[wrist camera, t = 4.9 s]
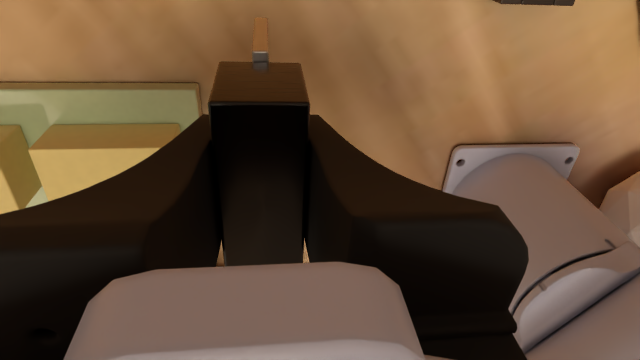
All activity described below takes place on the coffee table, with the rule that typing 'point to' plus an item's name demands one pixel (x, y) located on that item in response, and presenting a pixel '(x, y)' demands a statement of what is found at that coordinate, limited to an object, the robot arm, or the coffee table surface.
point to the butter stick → (93, 153)
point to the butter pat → (16, 170)
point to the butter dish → (95, 107)
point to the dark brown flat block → (260, 156)
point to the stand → (538, 2)
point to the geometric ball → (624, 206)
